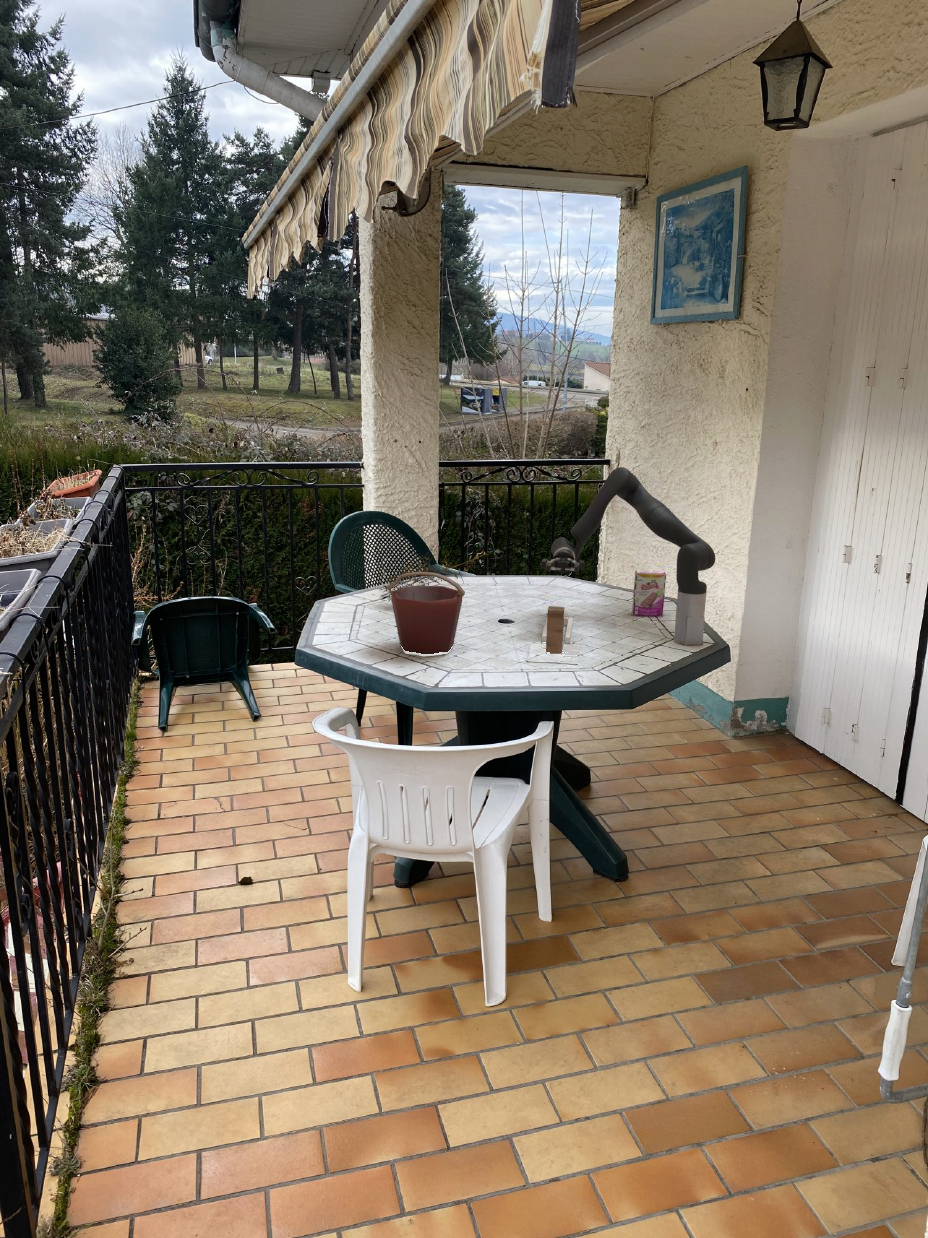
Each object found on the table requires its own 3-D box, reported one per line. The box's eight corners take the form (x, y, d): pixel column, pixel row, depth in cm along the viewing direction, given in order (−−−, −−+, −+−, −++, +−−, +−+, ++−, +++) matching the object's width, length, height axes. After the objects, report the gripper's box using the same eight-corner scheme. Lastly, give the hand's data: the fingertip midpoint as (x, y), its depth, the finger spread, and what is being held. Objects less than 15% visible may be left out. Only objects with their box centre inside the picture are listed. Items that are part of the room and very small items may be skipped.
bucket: (376, 652, 284) (375, 575, 277) (408, 635, 303) (408, 563, 297) (446, 663, 274) (447, 583, 268) (475, 644, 294) (476, 570, 287)
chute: (546, 623, 321) (546, 616, 320) (572, 624, 319) (572, 617, 319) (541, 643, 296) (542, 635, 296) (569, 644, 295) (570, 637, 294)
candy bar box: (632, 616, 332) (635, 572, 328) (631, 612, 337) (634, 569, 333) (663, 617, 331) (666, 573, 327) (661, 613, 336) (665, 570, 332)
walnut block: (547, 648, 290) (548, 606, 286) (562, 648, 289) (564, 606, 285) (545, 652, 285) (547, 609, 281) (561, 653, 284) (563, 610, 281)
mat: (531, 643, 296) (531, 642, 296) (580, 646, 294) (580, 645, 294) (526, 661, 277) (526, 660, 277) (578, 664, 275) (578, 663, 274)
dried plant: (350, 565, 327) (457, 522, 310) (387, 557, 356) (486, 517, 338) (379, 643, 328) (487, 605, 310) (413, 629, 356) (514, 593, 339)
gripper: (543, 548, 309) (540, 556, 293) (585, 549, 307) (584, 558, 291) (542, 569, 311) (540, 579, 295) (584, 571, 309) (583, 581, 293)
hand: (562, 568), depth 293 cm, fingers open, 8 cm apart
